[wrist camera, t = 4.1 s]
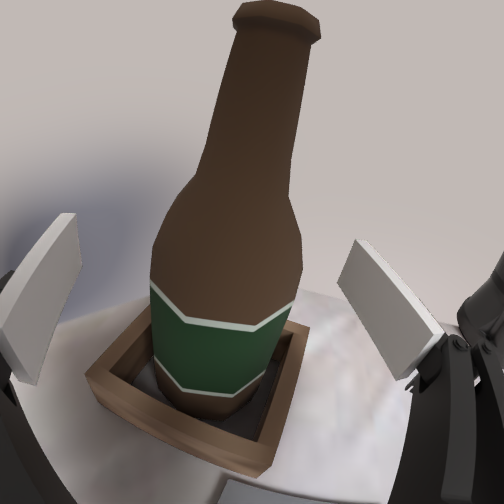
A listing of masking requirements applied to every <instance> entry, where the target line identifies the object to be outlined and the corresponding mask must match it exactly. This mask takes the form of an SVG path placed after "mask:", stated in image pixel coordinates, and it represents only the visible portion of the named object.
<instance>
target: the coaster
mask: <svg viewBox="0 0 504 504" xmlns="http://www.w3.org/2000/svg"><path fill="white" fill-rule="evenodd" d="M217 504H336V503H328V502H321V501H315V500H309V499H303V498H298V497H293V496H289V495H284V494H280V493H276V492H272V491H268V490H264V489H260V488H257V487H254V486H250V485H247V484H244V483H241V482H238V481H235V480H232V479H228V481H227V483H226V485H225V487H224V489H223V492H222V494H221V496H220V498H219V500H218V502H217Z"/></svg>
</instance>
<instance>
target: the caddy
mask: <svg viewBox="0 0 504 504" xmlns="http://www.w3.org/2000/svg"><path fill="white" fill-rule="evenodd" d="M309 330H310V327H307V326H304V325H301V324H298V323H295V322H292V321H289V320H286V323H285V325H284V328H283V330H282V333H281V335H280V338H279V340H278V342H277V345H276V347H275V350H274V352H273V354H272V357H271V359H274V360H277V361H280V364H279V367H278V370H277V373H276V376H275V379H274V382H273V385H272V388H271V391H270V394H269V396H268V399H267V402H266V405H265V408H264V410H263V413H262V416H261V419H260V421H259V424H258V427H257V429H256V432H255V434H254V437H253V440H252V441H251V440H248V439H245V438H242V437H239V436H237V435H234V434H231V433H229V432H226V431H223V430H221V429H218V428H216V427H214V426H211V425H209V424H206V423H204V422H202V421H199V420H197V419H195V418H193V417H191V416H188V415H186V414H184V413H182V412H180V411H178V410H176V409H174V408H172V407H170V406H168V405H166V404H164V403H162V402H160V401H158V400H156V399H154V398H153V397H151V396H149V395H147V394H145V393H143V392H142V391H140V390H138V389H136V388H135V387H133V386H131V385H130V384H131V383H132V382H133V380H134V379H135V378H136V377H137V375H138V374H139V373H140V371H141V370H142V369H143V368H144V366H145V365H146V364H147V362H148V361H149V360H150V359H151V357H152V356H153V355H154V352H153V340H152V325H151V306H150V305H149V306H148V307H147V308H146V309H145V310H144V311H143V312H142V313H141V314H140V315H139V316H138V317H137V318H136V319H135V320H134V321H133V322H132V323H131V324H130V325H129V326H128V327H127V328H126V330H125V331H124V332H123V333H122V334H121V335H120V336H119V337H118V338H117V339H116V340H115V341H114V342H113V343H112V344H111V345H110V347H109V348H108V349H107V350H106V351H105V352H104V353H103V354H102V355H101V356H100V357H99V358H98V360H97V361H96V362H95V363H94V364H93V365H92V366H91V367H90V368H89V369H88V370H87V372H86V373H85V376H86V379H87V381H88V383H89V385H90V387H91V389H92V391H93V393H94V395H95V397H96V399H97V401H98V402H99V403H100V404H102V405H103V406H105V407H106V408H108V409H109V410H111V411H112V412H114V413H115V414H117V415H118V416H120V417H121V418H123V419H125V420H126V421H128V422H130V423H131V424H133V425H135V426H136V427H138V428H140V429H141V430H143V431H145V432H147V433H149V434H150V435H152V436H154V437H156V438H158V439H160V440H162V441H164V442H166V443H168V444H170V445H172V446H174V447H176V448H178V449H180V450H182V451H184V452H186V453H189V454H191V455H193V456H195V457H198V458H200V459H202V460H205V461H207V462H210V463H212V464H215V465H217V466H220V467H223V468H225V469H228V470H231V471H234V472H237V473H240V474H243V475H246V476H249V477H252V478H257V477H258V476H260V475H261V474H262V473H263V472H265V471H266V470H267V469H268V468H269V467H271V466H272V463H273V460H274V457H275V454H276V451H277V448H278V445H279V441H280V438H281V435H282V432H283V429H284V425H285V422H286V419H287V415H288V412H289V408H290V405H291V401H292V398H293V394H294V390H295V387H296V383H297V379H298V375H299V372H300V368H301V364H302V360H303V356H304V351H305V347H306V343H307V339H308V334H309Z"/></svg>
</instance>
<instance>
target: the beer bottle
mask: <svg viewBox="0 0 504 504" xmlns="http://www.w3.org/2000/svg"><path fill="white" fill-rule="evenodd" d="M232 21H233V27H234V29H235V30H236V31H237V33H236V36H235V39H234V42H233V45H232V49H231V52H230V55H229V58H228V62H227V65H226V68H225V72H224V76H223V79H222V82H221V86H220V90H219V93H218V97H217V101H216V105H215V108H214V112H213V116H212V120H211V124H210V128H209V132H208V137H207V141H206V145H205V148H204V151H203V153H202V156H201V160H200V162H199V165H198V168H197V171H196V174H195V175H194V177H193V178H192V179H191V180H190V181H189V182H188V184H187V185H186V186H185V187H184V188H183V190H182V191H181V192H180V193H179V194H178V196H177V197H176V199H175V201H174V202H173V204H172V206H171V207H170V209H169V211H168V212H167V214H166V216H165V219H164V221H163V223H162V225H161V228H160V230H159V232H158V235H157V238H156V239H155V242H154V245H153V248H152V258H151V269H150V306H151V325H152V340H153V352H154V363H155V372H156V379H157V383H158V388H159V390H160V391H161V392H162V393H163V395H164V396H165V397H166V398H167V399H168V400H169V402H170V403H171V404H172V405H173V406H174V407H175V408H176V410H178V411H180V412H182V413H184V414H186V415H188V416H191V417H193V418H196V419H205V420H214V421H225V420H226V419H227V418H229V417H230V416H231V415H233V414H234V413H235V412H237V411H238V410H239V409H240V408H242V407H243V406H244V405H246V404H247V403H248V402H249V401H251V399H252V397H253V396H254V394H255V392H256V391H257V389H258V387H259V384H260V382H261V380H262V378H263V375H264V373H265V371H266V368H267V366H268V364H269V361H270V359H271V357H272V354H273V352H274V350H275V347H276V345H277V342H278V340H279V338H280V335H281V333H282V330H283V328H284V325H285V323H286V320H287V318H288V315H289V313H290V310H291V308H292V305H293V303H294V300H295V296H296V293H297V289H298V285H299V282H300V278H301V274H302V270H303V261H302V241H301V234H300V231H299V228H298V224H297V221H296V218H295V215H294V212H293V209H292V206H291V203H290V200H289V197H288V194H289V182H290V168H291V157H292V151H293V147H294V141H295V136H296V130H297V125H298V119H299V113H300V108H301V102H302V96H303V90H304V85H305V79H306V73H307V67H308V60H309V55H310V49H311V45H312V44H314V43H315V42H316V41H318V40H319V39H321V33H320V24H319V20H318V19H317V18H315V17H314V16H313V15H311V14H310V13H308V12H307V11H306V10H304V9H303V8H301V7H298V6H295V5H291V4H287V3H283V2H278V1H274V0H261V1H254V2H246V3H242V5H241V6H240V8H239V9H238V10H237V12H236V14H235V15H234V17H233V18H232Z"/></svg>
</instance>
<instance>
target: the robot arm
mask: <svg viewBox="0 0 504 504" xmlns="http://www.w3.org/2000/svg"><path fill="white" fill-rule="evenodd" d="M76 220H77V218H76V214H73V213H61V214H60V215H59V216H58V217H57V219H56V220H55V221H54V222H53V223H52V224H51V225H50V227H49V228H48V229H47V230H46V232H45V233H44V234H43V235H42V236H41V238H40V239H39V240H38V241H37V243H36V244H35V245H34V247H33V248H32V249H31V250H30V252H29V253H28V254H27V256H26V257H25V259H24V260H23V261H22V263H21V264H20V265H19V267H18V268H17V270H16V271H12V270H11V271H10V272H8V273H7V274H6V275H5V276H3V277H2V278H1V279H0V504H77V502H76V501H75V500H74V498H73V497H72V496H71V494H70V493H69V492H68V490H67V489H66V487H65V486H64V484H63V483H62V482H61V480H60V478H59V477H58V475H57V474H56V472H55V471H54V469H53V468H52V466H51V464H50V463H49V461H48V459H47V457H46V456H45V454H44V452H43V450H42V449H41V447H40V445H39V443H38V441H37V439H36V437H35V435H34V433H33V431H32V429H31V427H30V425H29V423H28V421H27V419H26V416H25V414H24V412H23V410H22V407H21V405H20V402H19V400H18V397H17V395H16V392H15V390H14V387H13V384H12V383H11V381H10V379H9V378H10V375H11V372H13V373H14V375H15V376H16V378H17V379H18V380H19V381H21V382H24V383H27V384H31V385H34V386H36V385H37V382H38V378H39V375H40V371H41V368H42V365H43V362H44V359H45V356H46V353H47V350H48V347H49V344H50V341H51V339H52V336H53V333H54V330H55V328H56V325H57V323H58V320H59V318H60V315H61V313H62V310H63V308H64V306H65V303H66V301H67V299H68V296H69V294H70V292H71V290H72V288H73V285H74V283H75V281H76V279H77V277H78V275H79V273H80V271H81V269H82V260H81V253H80V246H79V238H78V229H77V221H76ZM337 284H338V285H339V287H340V288H341V290H342V291H343V293H344V295H345V296H346V297H347V299H348V301H349V303H350V304H351V306H352V307H353V309H354V311H355V312H356V314H357V315H358V317H359V319H360V320H361V322H362V324H363V325H364V327H365V329H366V330H367V332H368V334H369V335H370V337H371V339H372V340H373V342H374V344H375V345H376V347H377V349H378V350H379V352H380V354H381V356H382V357H383V359H384V361H385V363H386V364H387V366H388V368H389V370H390V371H391V373H392V375H393V377H394V379H395V380H396V381H397V380H400V379H404V378H407V377H409V375H410V374H411V373H412V372H413V371H414V370H415V369H417V370H418V372H419V373H418V374H417V375H416V376H415V377H414V378H413V379H412V381H411V382H410V383H409V384H408V385H407V386H406V388H405V390H406V391H407V390H408V389H409V388H410V387H411V386H414V387H413V388H412V389H411V390H410V391H409V392H411V393H413V395H412V403H411V410H410V416H409V422H408V427H407V433H406V438H405V443H404V447H403V452H402V456H401V460H400V464H399V468H398V471H397V475H396V478H395V482H394V485H393V488H392V492H391V495H390V498H389V501H388V504H504V373H503V370H502V369H504V252H503V254H502V256H501V258H500V260H499V261H498V263H497V265H496V267H495V269H494V271H493V273H492V274H491V276H490V278H489V279H488V280H487V281H486V282H485V283H484V284H483V285H482V286H481V287H480V288H479V289H478V290H477V291H476V292H475V293H474V294H473V295H472V296H471V297H469V298H467V299H466V300H465V301H464V303H463V304H462V306H461V307H460V309H459V310H458V312H457V321H458V324H459V327H460V329H461V331H462V333H463V335H464V337H465V338H466V340H467V341H468V342H469V344H470V345H471V346H472V347H470V346H468V344H467V343H466V342H465V341H464V340H463V339H462V338H461V337H459V336H457V335H454V334H452V335H450V336H448V335H447V334H446V332H445V331H444V330H443V328H442V327H441V326H440V325H439V323H438V322H437V321H436V320H435V318H434V317H433V316H432V314H430V312H429V311H428V309H427V308H426V307H425V306H424V304H423V303H422V302H421V301H420V299H418V298H417V296H416V295H415V294H414V293H413V292H412V290H411V289H410V288H409V287H408V286H407V285H406V283H405V282H404V281H403V280H402V279H401V278H400V276H399V275H398V274H397V273H396V272H395V271H394V270H393V268H392V267H391V266H390V265H389V264H388V263H387V262H386V261H385V260H384V258H382V257H381V255H380V254H379V253H378V252H377V251H376V250H375V249H374V248H373V247H372V246H371V244H370V243H369V242H368V241H366V240H358V239H355V241H354V244H353V246H352V249H351V251H350V254H349V256H348V258H347V261H346V263H345V265H344V268H343V270H342V272H341V275H340V277H339V279H338V282H337ZM478 376H480V380H481V381H480V382H479V383H478V384H477V385H476V386H475V387H474V380H475V379H476V378H477V377H478Z"/></svg>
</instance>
